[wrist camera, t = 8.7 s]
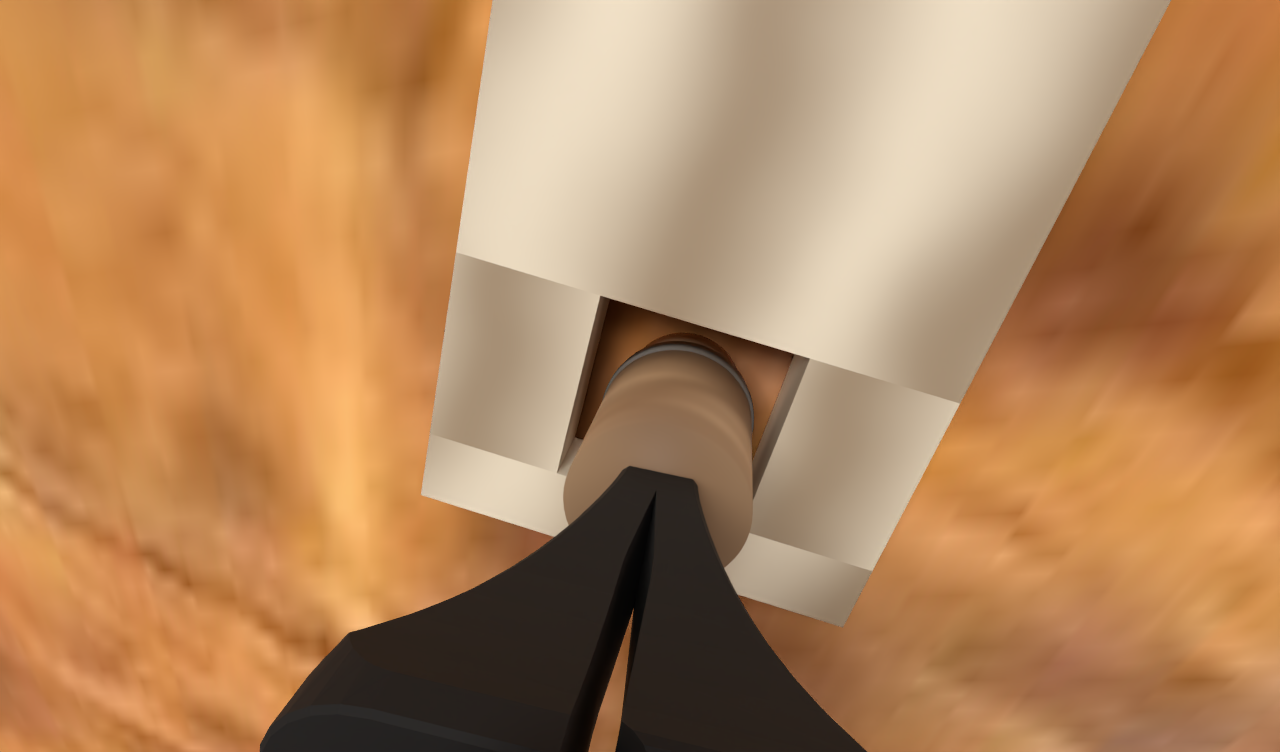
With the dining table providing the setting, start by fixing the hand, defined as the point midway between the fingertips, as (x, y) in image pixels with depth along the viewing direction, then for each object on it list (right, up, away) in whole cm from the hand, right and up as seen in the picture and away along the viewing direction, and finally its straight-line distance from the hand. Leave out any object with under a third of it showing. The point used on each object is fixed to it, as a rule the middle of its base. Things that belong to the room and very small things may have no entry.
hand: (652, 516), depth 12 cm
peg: (+1, +2, +6) cm, 6 cm away
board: (+2, +5, +4) cm, 7 cm away
